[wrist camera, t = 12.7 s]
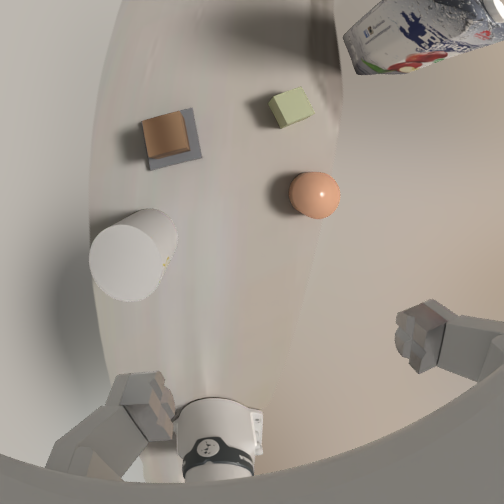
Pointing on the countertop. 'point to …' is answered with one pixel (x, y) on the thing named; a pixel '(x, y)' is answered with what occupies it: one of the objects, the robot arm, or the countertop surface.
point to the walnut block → (166, 135)
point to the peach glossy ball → (314, 194)
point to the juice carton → (421, 33)
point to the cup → (133, 255)
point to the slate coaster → (185, 156)
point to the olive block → (291, 107)
